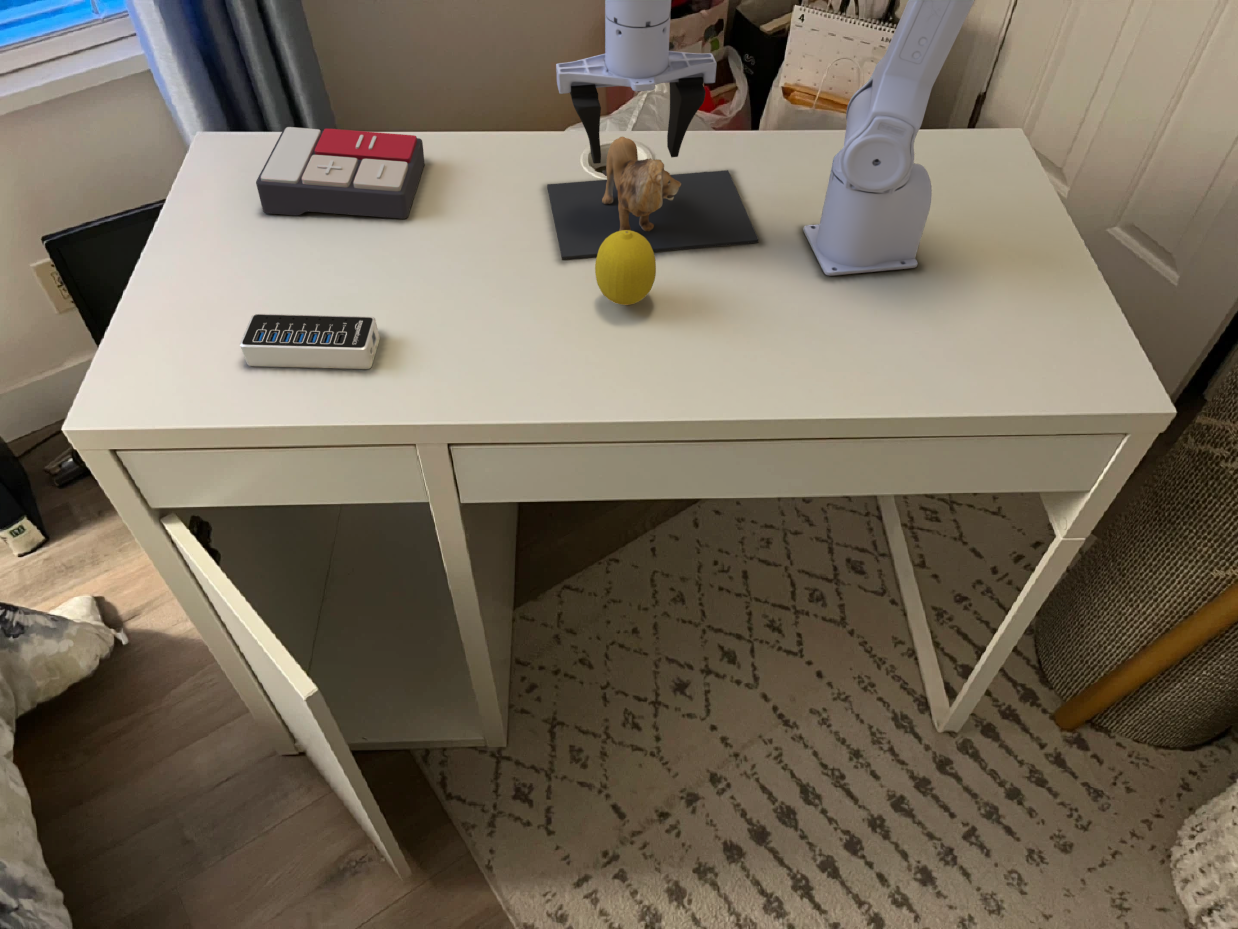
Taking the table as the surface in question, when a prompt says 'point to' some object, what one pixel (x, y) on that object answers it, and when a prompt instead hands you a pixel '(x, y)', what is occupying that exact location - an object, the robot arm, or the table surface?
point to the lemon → (625, 267)
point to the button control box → (341, 173)
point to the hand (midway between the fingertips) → (634, 154)
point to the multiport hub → (310, 341)
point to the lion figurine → (636, 183)
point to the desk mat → (653, 216)
